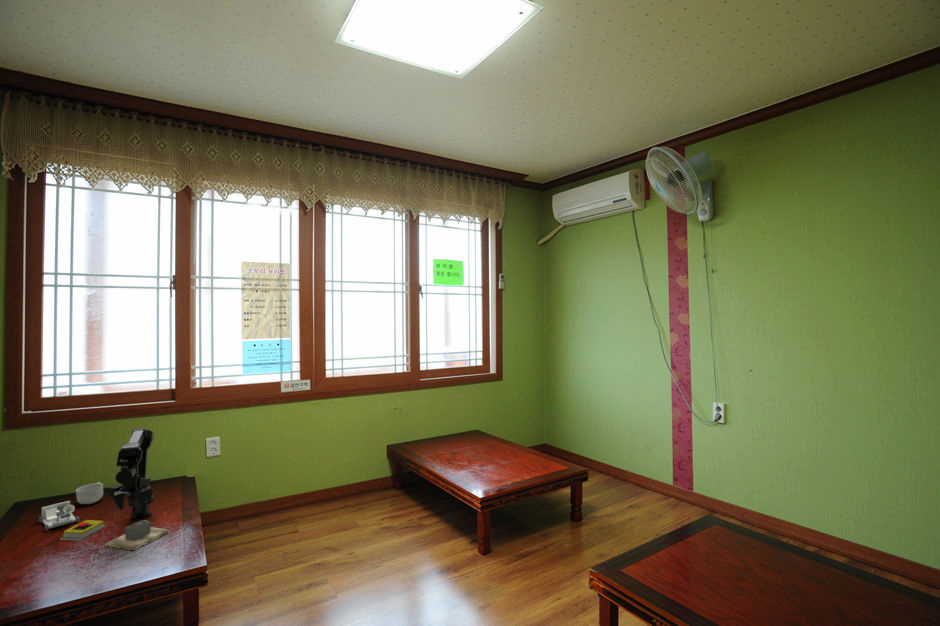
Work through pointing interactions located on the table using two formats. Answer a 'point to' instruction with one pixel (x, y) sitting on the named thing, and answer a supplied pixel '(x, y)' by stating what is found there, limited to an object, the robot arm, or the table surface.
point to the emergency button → (82, 530)
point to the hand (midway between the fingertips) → (130, 511)
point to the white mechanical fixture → (58, 515)
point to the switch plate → (132, 545)
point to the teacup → (89, 493)
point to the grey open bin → (137, 530)
